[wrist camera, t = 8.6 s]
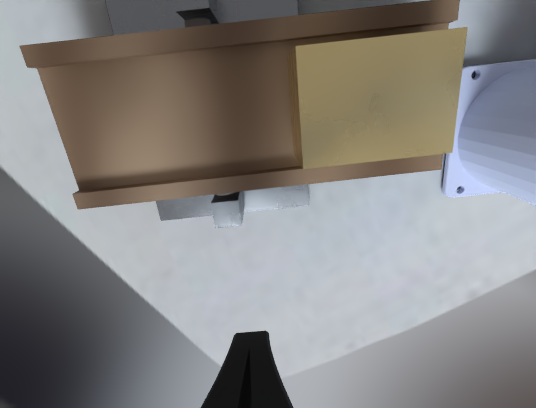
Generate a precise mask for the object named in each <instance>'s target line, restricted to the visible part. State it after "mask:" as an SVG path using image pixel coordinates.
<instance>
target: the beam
mask: <svg viewBox="0 0 536 408" xmlns="http://www.w3.org/2000/svg"><path fill="white" fill-rule="evenodd" d="M459 2H460V0H430V1H421V2H412V3H403V4H394V5H385V6H376V7H366V8H357V9H348V10H339V11H330V12H321V13H312V14H303V15H294V16H285V17H276V18H267V19H258V20H249V21H240V22H231V23H222V24H212V25H211V21H210V20H209V19H206V18H195V19H189V20H186V21H185V22H184V23H185V28H176V29H167V30H158V31H149V32H140V33H131V34H122V35H113V36H104V37H95V38H86V39H77V40H68V41H59V42H49V43H40V44H31V45H22V46H20V49H21V52H22V54H23V57H24V60H25V63H26V66H27V67H29V68H37V70H38V72H39V75H40V78H41V81H42V84H43V87H44V90H45V93H46V96H47V98H48V101H49V104H50V107H51V110H52V113H53V116H54V119H55V121H56V124H57V127H58V130H59V133H60V136H61V139H62V142H63V144H64V147H65V150H66V153H67V156H68V159H69V162H70V165H71V168H72V170H73V173H74V176H75V179H76V182H77V185H78V188H79V191H77V192H75V193H74V194H73V197H74V200H75V203H76V205H77V208H78V209H86V208H95V207H104V206H114V205H123V204H132V203H141V202H150V201H159V200H168V199H177V198H186V197H195V196H204V195H213V194H215V195H219V196H223V195H229V194H232V193H234V192H241V191H250V190H259V189H268V188H277V187H286V186H295V185H304V184H313V183H322V182H331V181H341V180H350V179H359V178H368V177H377V176H386V175H395V174H404V173H413V172H422V171H431V170H440V169H441V168H442V159H443V154H437V155H428V156H419V157H410V158H401V159H392V160H383V161H373V162H364V163H355V164H346V165H337V166H328V167H319V168H310V169H303V168H302V166H301V165H300V163H299V162H298V160H297V158H296V157H295V155H294V146H293V132H292V118H291V105H290V91H289V77H288V63H287V55H288V54H289V53H290V52H291V51H292V50H293V48H294V47H295V46H301V45H310V44H319V43H328V42H337V41H346V40H355V39H364V38H373V37H382V36H391V35H400V34H409V33H418V32H427V31H436V30H446V29H448V25H449V23H450V22H453V21H456V20H458V11H459Z"/></svg>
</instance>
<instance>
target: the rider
mask: <svg viewBox="0 0 536 408" xmlns="http://www.w3.org/2000/svg"><path fill="white" fill-rule="evenodd" d="M466 36H467V27H464V28H455V29H446V30H436V31H427V32H418V33H409V34H400V35H391V36H382V37H373V38H364V39H355V40H346V41H337V42H328V43H319V44H310V45H301V46H295V47H294V48H293V50H292V51H291V52H290V53H289V54H288V55H287V63H288V77H289V91H290V105H291V118H292V132H293V146H294V155H295V157H296V158H297V160H298V162H299V163H300V165H301V166H302V168H303V169H310V168H319V167H328V166H337V165H346V164H355V163H364V162H373V161H383V160H392V159H401V158H410V157H419V156H428V155H437V154H446V153H453V144H454V136H455V128H456V119H457V111H458V103H459V94H460V86H461V77H462V69H463V61H464V52H465V44H466Z"/></svg>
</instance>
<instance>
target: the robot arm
mask: <svg viewBox="0 0 536 408" xmlns="http://www.w3.org/2000/svg"><path fill="white" fill-rule="evenodd" d="M473 71H475V72H476V76H475V78H474V79H472V78H471V75H472V72H473ZM460 186H461V188H460V190H459V191H457V192H456V190H457V188H458V187H460ZM501 192H504V193H506V194H509V195H511V196H513V197H516V198H518V199H521V200H523V201H525V202H528V203H530V204H533V205H535V206H536V59H530V60H521V61H512V62H503V63H494V64H485V65H476V66H467V67H463V69H462V77H461V86H460V94H459V103H458V111H457V119H456V128H455V136H454V144H453V153H446V160H445V169H444V178H443V187H442V193H443V194H444V195H445V196H447V197H451V198H452V197H462V196H472V195H481V194H491V193H501ZM201 408H293V406H292V403H291V401H290V399H289V397H288V395H287V392H286V390H285V388H284V386H283V383H282V381H281V378H280V375H279V373H278V370H277V367H276V364H275V361H274V358H273V354H272V351H271V347H270V340H269V333H268V332H267V331H257V332H245V333H236V334H235V335H234V337H233V340H232V343H231V346H230V349H229V351H228V354H227V356H226V358H225V361H224V363H223V365H222V367H221V370H220V372H219V374H218V376H217V378H216V380H215V382H214V384H213V386H212V388H211V390H210V392H209V393H208V395H207V398H206V399H205V401H204V403H203V405H202V406H201Z"/></svg>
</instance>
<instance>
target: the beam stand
mask: <svg viewBox="0 0 536 408" xmlns="http://www.w3.org/2000/svg"><path fill="white" fill-rule="evenodd" d="M105 2H106V6H107V10H108V14H109V18H110V22H111V26H112V30H113V34H114V35H122V34H131V33H140V32H149V31H158V30H167V29H176V28H185V23H184V22H185V21H186V20H189V19H195V18H206V19H209V20H210V21H211V25H212V24H222V23H231V22H240V21H249V20H258V19H267V18H276V17H285V16H294V15H298V1H297V0H105ZM156 203H157V207H158V211H159V215H160V219H161V221H162V220H172V219H182V218H192V217H201V216H211V215H213V218H214V224H215V228H221V227H230V226H240V225H242V220H243V214H244V212H250V211H260V210H270V209H279V208H289V207H299V206H309V193H308V184H304V185H295V186H286V187H277V188H268V189H259V190H250V191H241V192H234V193H232V194H229V195H223V196H219V195H215V194H213V195H204V196H195V197H186V198H177V199H168V200H159V201H156Z"/></svg>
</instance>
